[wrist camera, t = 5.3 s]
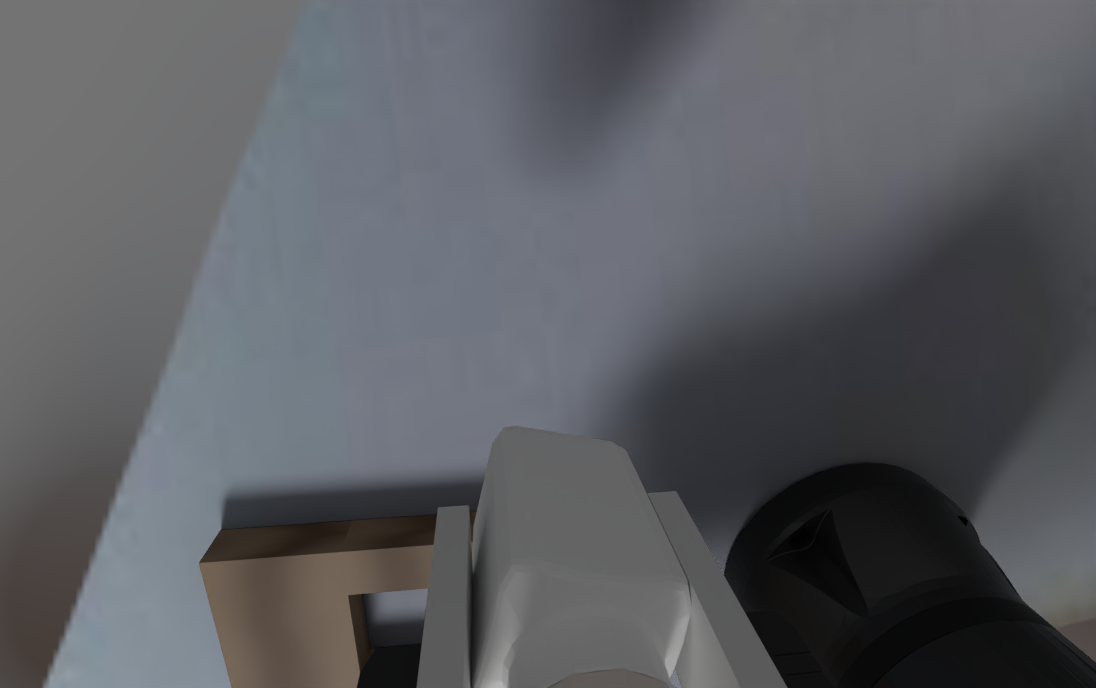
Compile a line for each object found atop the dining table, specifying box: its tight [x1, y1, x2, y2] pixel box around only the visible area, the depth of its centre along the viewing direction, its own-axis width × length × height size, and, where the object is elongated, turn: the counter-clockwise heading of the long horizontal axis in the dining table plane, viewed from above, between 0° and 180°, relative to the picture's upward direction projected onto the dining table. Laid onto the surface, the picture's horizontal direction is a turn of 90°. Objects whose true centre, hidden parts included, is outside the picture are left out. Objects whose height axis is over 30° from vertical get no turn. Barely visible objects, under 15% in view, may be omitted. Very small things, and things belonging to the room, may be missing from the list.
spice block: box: [199, 512, 477, 688], centre depth 32 cm, size 20×12×2 cm, turn 90°
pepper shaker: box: [471, 426, 692, 688], centre depth 12 cm, size 4×4×10 cm
